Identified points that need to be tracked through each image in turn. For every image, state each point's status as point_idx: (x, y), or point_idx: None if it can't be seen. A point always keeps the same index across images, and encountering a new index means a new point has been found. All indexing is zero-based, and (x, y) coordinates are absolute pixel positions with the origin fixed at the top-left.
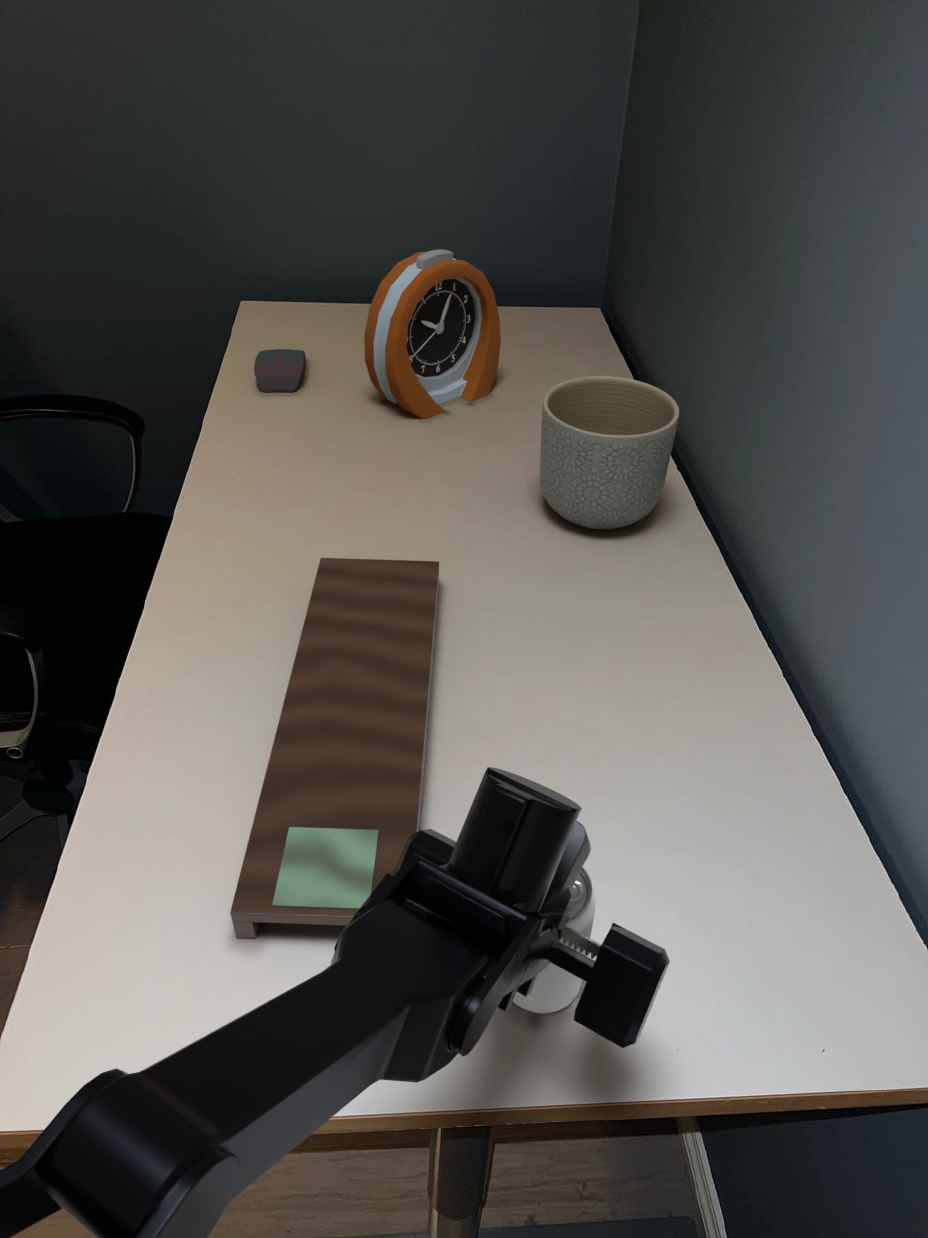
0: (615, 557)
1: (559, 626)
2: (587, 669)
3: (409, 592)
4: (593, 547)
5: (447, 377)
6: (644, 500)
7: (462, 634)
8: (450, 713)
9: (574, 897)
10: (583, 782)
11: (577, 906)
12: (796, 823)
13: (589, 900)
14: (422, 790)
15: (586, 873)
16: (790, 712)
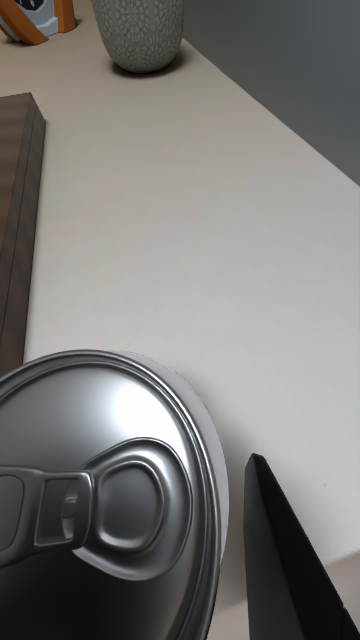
0: (162, 84)
1: (132, 128)
2: (156, 148)
3: (5, 114)
4: (147, 82)
5: (42, 12)
6: (172, 22)
7: (63, 146)
8: (55, 200)
9: (152, 535)
10: (167, 226)
11: (170, 588)
12: (343, 216)
13: (218, 564)
14: (30, 265)
15: (181, 406)
16: (305, 143)
